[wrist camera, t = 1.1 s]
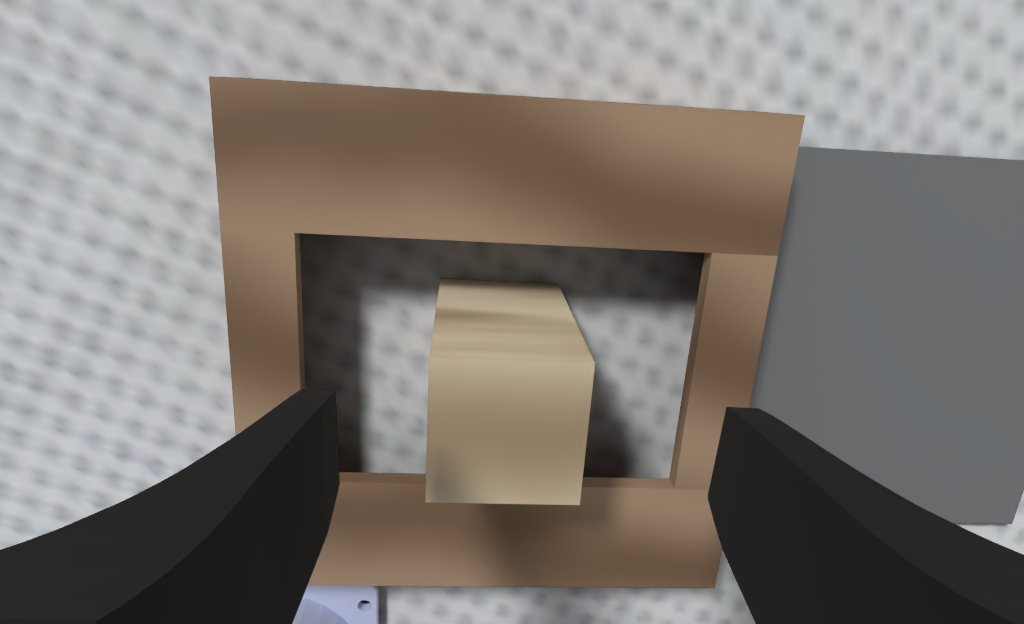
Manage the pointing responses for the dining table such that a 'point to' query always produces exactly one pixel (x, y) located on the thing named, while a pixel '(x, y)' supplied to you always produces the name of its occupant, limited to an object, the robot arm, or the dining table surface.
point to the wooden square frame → (504, 219)
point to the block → (506, 395)
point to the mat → (904, 324)
